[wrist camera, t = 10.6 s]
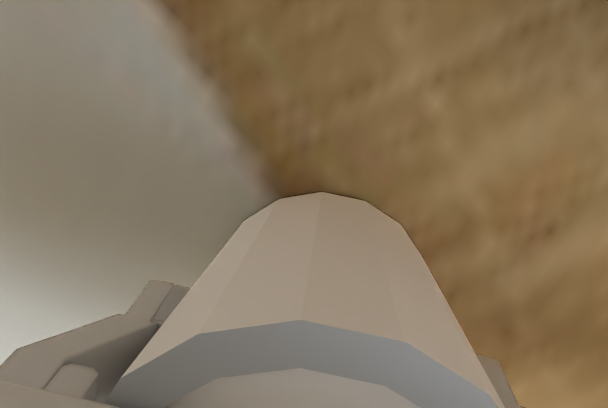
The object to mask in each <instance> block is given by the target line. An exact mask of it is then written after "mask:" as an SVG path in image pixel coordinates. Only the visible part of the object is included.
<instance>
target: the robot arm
mask: <svg viewBox="0 0 608 408" xmlns="http://www.w3.org/2000/svg"><path fill="white" fill-rule="evenodd" d="M190 289H191V288H188V287H184V286H180V285H174V284H173V283H168V282H164V281H159V280H154V279H153V280H151V281H149V283H148V284H147V285H146V287H145V288H144V290H143V291H142V292H141V294H140V295H139V296H138V298H137V299H136V301H135V302H134V303H133V305H132V306H131V308H130V309H129V310H128V312H127V313H126V314H125V315H121V314H117V315H114V316H111V317H108V318H105V319H103V320H100V321H97V322H94V323H91V324H88V325H85V326H82V327H79V328H76V329H73V330H70V331H68V332H65V333H62V334H59V335H56V336H53V337H50V338H47V339H44V340H41V341H38V342H35V343H33V344H30V345H27V346H24V347H21V348H18V349H16V350H15V351H14V352H13V353H12V354H11V355H10V356H9V357H8V358H7V359H6V360H5V361H4V362H3V363H2V364H1V366H0V408H122V407H117V406H113V405H109V404H104V402H105V401H106V399H107V398H108V396H109V395H110V393H111V392H112V390H113V389H114V387H115V386H116V384H117V383H118V381H119V380H120V378H121V377H122V376H123V374H124V373H125V372H126V371H127V369H128V368H129V367H130V365H131V364H132V363H133V362H134V360H135V359H136V358H137V356H138V355H139V354H140V353H141V351H142V350H143V349H144V348H145V346H146V345H147V344H148V342H149V341H150V340H151V339H152V337H153V336H154V335H155V334H156V332H157V331H158V330H159V328H160V327H161V326H162V325H163V323H164V322H165V321H166V319H167V318H168V317H169V316H170V314H171V313H172V312H173V311H174V309H175V308H176V307H177V305H178V304H179V303H180V302H181V300H182V299H183V298H184V297H185V295H186V294H187V293H188V291H189V290H190ZM476 356H477V358H478V359H479V361H480V363H481V365H482V367H483V368H484V370H485V372H486V374H487V376H488V378H489V379H490V381H491V383H492V385H493V387H494V389H495V390H496V392H497V394H498V396H499V398H500V399H501V401H502V403H503V405H504V407H505V408H525V407H521V406H519V405H518V403H517V400H516V398H515V396H514V394H513V392H512V389H511V387H510V385H509V383H508V380H507V378H506V376H505V374H504V372H503V369H502V367H501V365H500V363H499V361H498V360H497V359H496V358H495V357H490V356H484V355H479V354H476Z"/></svg>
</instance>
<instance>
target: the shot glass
mask: <svg viewBox="0 0 608 408" xmlns="http://www.w3.org/2000/svg"><path fill="white" fill-rule="evenodd" d="M104 404H109V405H113V406H117V407H122V408H505V407H504V405H503V403H502V401H501V399H500V398H499V396H498V394H497V392H496V390H495V389H494V387H493V385H492V383H491V381H490V379H489V378H488V376H487V374H486V372H485V370H484V368H483V367H482V365H481V363H480V361H479V359H478V358H477V356H476V354H475V352H474V350H473V348H472V347H471V345H470V343H469V341H468V339H467V338H466V336H465V334H464V332H463V330H462V328H461V327H460V325H459V323H458V321H457V319H456V317H455V316H454V314H453V312H452V310H451V308H450V307H449V305H448V303H447V301H446V299H445V297H444V296H443V294H442V292H441V290H440V288H439V287H438V285H437V283H436V281H435V279H434V277H433V276H432V274H431V272H430V270H429V268H428V266H427V265H426V263H425V261H424V259H423V258H422V256H421V254H420V253H419V251H418V250H417V248H416V247H415V245H414V244H413V242H412V241H411V239H410V238H409V236H408V235H407V233H406V231H405V230H404V228H403V227H402V225H401V224H399V223H398V222H396V221H395V220H393V219H392V218H390V217H389V216H387V215H386V214H384V213H383V212H381V211H380V210H378V209H377V208H375V207H374V206H372V205H371V204H369V203H368V202H366V201H363V200H359V199H354V198H349V197H344V196H340V195H335V194H330V193H325V192H318V193H312V194H306V195H300V196H294V197H288V198H282V199H278V200H277V201H275V202H273V203H272V204H270V205H269V206H267V207H265V208H264V209H262V210H260V211H259V212H257V213H256V214H254V215H252V216H251V217H249V218H248V219H246V220H244V221H243V223H242V224H241V225H240V226H239V228H238V229H237V230H236V231H235V233H234V234H233V235H232V237H231V238H230V239H229V240H228V242H227V243H226V244H225V246H224V247H223V248H222V249H221V251H220V252H219V253H218V254H217V256H216V257H215V258H214V260H213V261H212V262H211V263H210V265H209V266H208V267H207V268H206V270H205V271H204V272H203V274H202V275H201V276H200V277H199V279H198V280H197V281H196V282H195V284H194V285H193V286H192V288H191V289H190V290H189V291H188V293H187V294H186V295H185V297H184V298H183V299H182V300H181V302H180V303H179V304H178V305H177V307H176V308H175V309H174V311H173V312H172V313H171V314H170V316H169V317H168V318H167V319H166V321H165V322H164V323H163V325H162V326H161V327H160V328H159V330H158V331H157V332H156V334H155V335H154V336H153V337H152V339H151V340H150V341H149V342H148V344H147V345H146V346H145V348H144V349H143V350H142V351H141V353H140V354H139V355H138V356H137V358H136V359H135V360H134V362H133V363H132V364H131V365H130V367H129V368H128V369H127V371H126V372H125V373H124V374H123V376H122V377H121V378H120V380H119V381H118V383H117V384H116V386H115V387H114V389H113V390H112V392H111V393H110V395H109V396H108V398H107V399H106V401H105V402H104Z"/></svg>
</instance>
